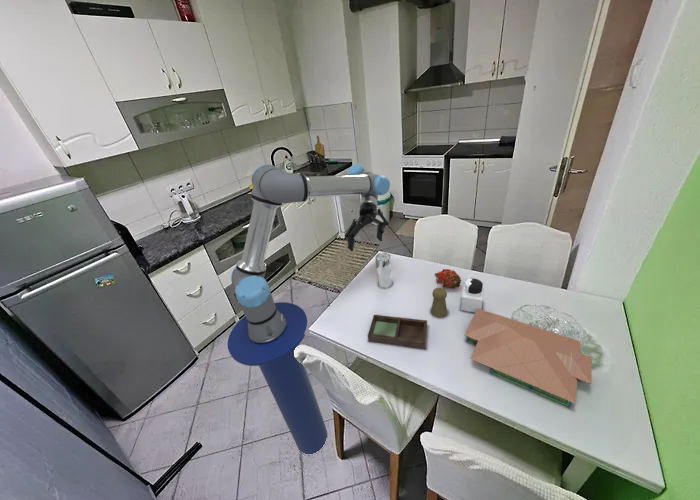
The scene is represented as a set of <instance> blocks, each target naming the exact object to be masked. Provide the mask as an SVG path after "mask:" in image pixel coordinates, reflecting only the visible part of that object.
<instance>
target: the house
mask: <svg viewBox="0 0 700 500" xmlns="http://www.w3.org/2000/svg"><path fill="white" fill-rule="evenodd" d="M464 337H466V342H468V343H470V344H473V345H475V347H474V350H473V351H472V355H471V357H470V360H472V361H474V362H476V363H479V364H481V365H483V366H486V367H488V368H491V373H492V374H494V375H496V376H498V377H500V378H503V379H505V380H506V381H507V380H508V381H510V382H512V383H514V384H516V385H518V386H521V387H523V388H525V389H527V390H530V391H533V392H535V393H537V394H539V395H541V396H544V397H546V398H549V399H551V400H553V401H556V402H558V403H560V404H563V405H565V406H567V407H569V405H570V403H573V404H576V397H577V389H578V388H577V387H578V386H577V385H578V380H580V381H582V382H584V383H588V384H592V367H593V357H592V356H590V355H587V354H584V353H581V341H580V340H578V339H576V338H575V339H574V338H572V337H569V336H566V335H562V334H560V333H556V332H553V331H550V330H547V329H543V328H540V327H537V326H534V325H531V324H529V323H525V322H522V321H518V320H515V319H512V318H509V317H506V316H503V315H500V314H497V313H494V312H490V311H487V310H484V309H478V308H477V310H476V312H475V313H474V314H473V317H472V318H471V321H470V323H469V324H468V327H467V329H466V331H465V333H464ZM471 340H472V342H471ZM473 341H474V342H473ZM475 342H476V343H475ZM494 371H495V372H494ZM497 372H498V373H497ZM499 373H500V374H501V375H499ZM502 375H504V376H502ZM505 376H507V377H505ZM508 378H509V379H508ZM511 378H512V379H513V380H511ZM514 380H516V381H515V382H514ZM518 381H519V382H520V383H518ZM521 383H523V384H521ZM524 384H526V386H525V385H524ZM527 386H528V387H527ZM532 388H534V390H533V389H532ZM536 389H537V391H535V390H536ZM539 390H540V391H541V392H539ZM542 391H543V392H544V394H542ZM546 393H547V395H545V394H546ZM549 395H551V396H549ZM553 396H554V397H555V398H559V399H558V400H557V399H555V398H553ZM560 399H561V400H562V401H565V402H564V403H563V402H561V401H560ZM566 403H567V404H566Z"/></svg>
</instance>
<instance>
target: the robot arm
mask: <svg viewBox="0 0 700 500" xmlns="http://www.w3.org/2000/svg"><path fill="white" fill-rule="evenodd" d="M390 182H391V181H390V179H389V178H388V177H387V176H384V175H382V174H377V173H375V172H372V171H368V170H366V169H365V168H364V166H363V165H362V164H361V163H355V164H352V165H351V166H350V167H349V168H348V169H347V172H346V175H345V174H343V175H318V176H317V175H316V176H313V175H312V176H307V175H305V174H304V173H294V172H293V173H292V172H289V171H285V170H284V169H283V170H282V169H281V168H279V167H278V166H275V165H273V164H262V165H259V166H258V167H257V168H255V170H254V171H253V173H252V175H251V184H252V190H251V195H250V199H251V201H252V202H253V205H252V210H251V214H250V219H249V224H248V228H247V234H246V238H245V243H244V246H243V251H242V257H241V259H239V260H238V261H237V262H236V265H235V267H234V268H233V270H232V272H231V275H230V276H231V277H230V279H231V285H232V287H233V290H234V294H235V298H236V301H237V302H238V303H239V305H240V308H241V311H242V312H243V314H244V316H245V317H246V319H247V321H248V335H249V338H250V340H251V341H252V342H254V343H256V344H267V343H270V342H272V341H274V340H276V339H278V338H279V337H280V336H281V335H282V334H283V333H284V331H285V330H286V326H287V323H286V320H285V318H284V316H283V314H282V313H280V312H279V311H278V310H277V308H276V306H275V303H276V302H275V300H274V298H273V295H272V293H271V289H270V285H269V283H268V282H267V280H266V279H265V275H266V271H267V265H265V263H264V262H265V260H266V259H265V258H266V255H267V250H268V246H269V244H270V243H269V242H270V238H271V234H272V230H273V227H274V226H273V225H274V222H275V217H276V213H277V209H278V208H280V207H282V205H283V204H293V203H303V202H305V203H306V202H307V201H308V200H309V199H317V198H319V199H320V198H330V197H331V198H333V197H343V196H344V197H345V196H355V195H360V196H361V199H360V205H359V213H358V214H359V217H358V219H356V218H353V219H352V223H351V224H350V226H349V228H348V229H347V231H346V232H345V234H344V237H345V238H346V239H347V249H348V250H349V251H350V252H354V247H355V241H356V239H355V237H356V236H357V235H358V233H359V232H360V231H361V230H362V229H364V228H365V226H368V225H370V224H372V223H374V224H376V225H377V229H376V238H377V240H378V241H379V242H382V241H383V234H384V232H385V227H386V226H389V225H390V223H389V221H388V220H387V218H386V217H385V216H384V213H383V211H382V209H381V208H378V201H379V196H384V195H385V194H387V193H388V192H389V190H390V188H391V183H390ZM377 216H378V217H379V218H381V220H380V219H378V218H377Z"/></svg>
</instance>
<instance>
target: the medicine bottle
mask: <svg viewBox="0 0 700 500" xmlns="http://www.w3.org/2000/svg"><path fill="white" fill-rule="evenodd" d="M464 282H465V283H464V285H463V288H462V294H461V302H460V310H461V311H463V312H469V313H474V314H475V312H476V310H477V308H478V309H481V310H483V309H482V307H483V302H484V291H485V290H484V289H485V288H484V287H483V286H484V283H483V282H482V280H480V279H478V278H473V277H471V278H468V279H465V281H464Z"/></svg>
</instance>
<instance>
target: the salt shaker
mask: <svg viewBox="0 0 700 500" xmlns="http://www.w3.org/2000/svg"><path fill="white" fill-rule="evenodd" d="M431 294H432V297H433V300H432V304H431V309H430V314H431V316H433V317H435V318H441V319H442V318H445V317H446V316H447V315H448V309H447V301H446V300H447V296H448V292H447V290H446V289H445V288H444V287H439V286H438V287H435V288H434V289H433V290H432V293H431Z"/></svg>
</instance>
